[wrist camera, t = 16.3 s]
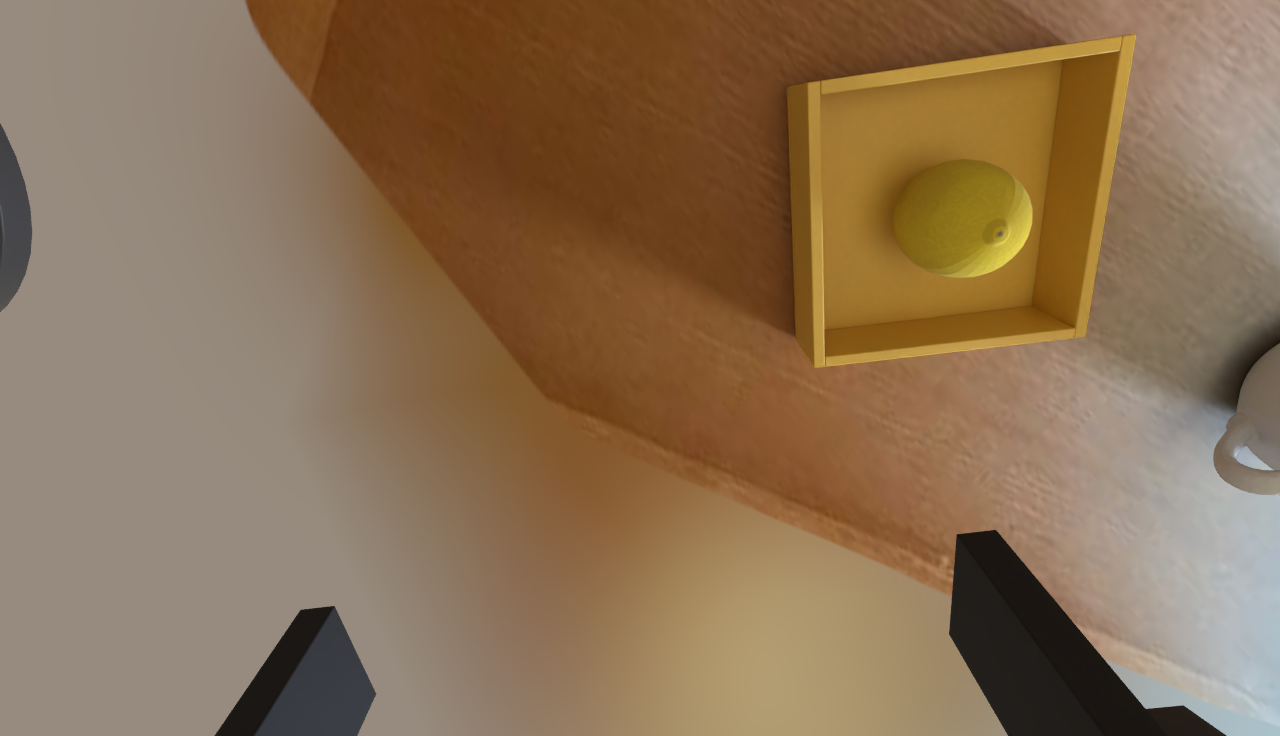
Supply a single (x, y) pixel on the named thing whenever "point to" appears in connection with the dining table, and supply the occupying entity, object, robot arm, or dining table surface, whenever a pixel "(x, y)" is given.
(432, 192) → the dining table surface
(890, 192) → the yellow bin
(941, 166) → the lemon
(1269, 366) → the teacup
